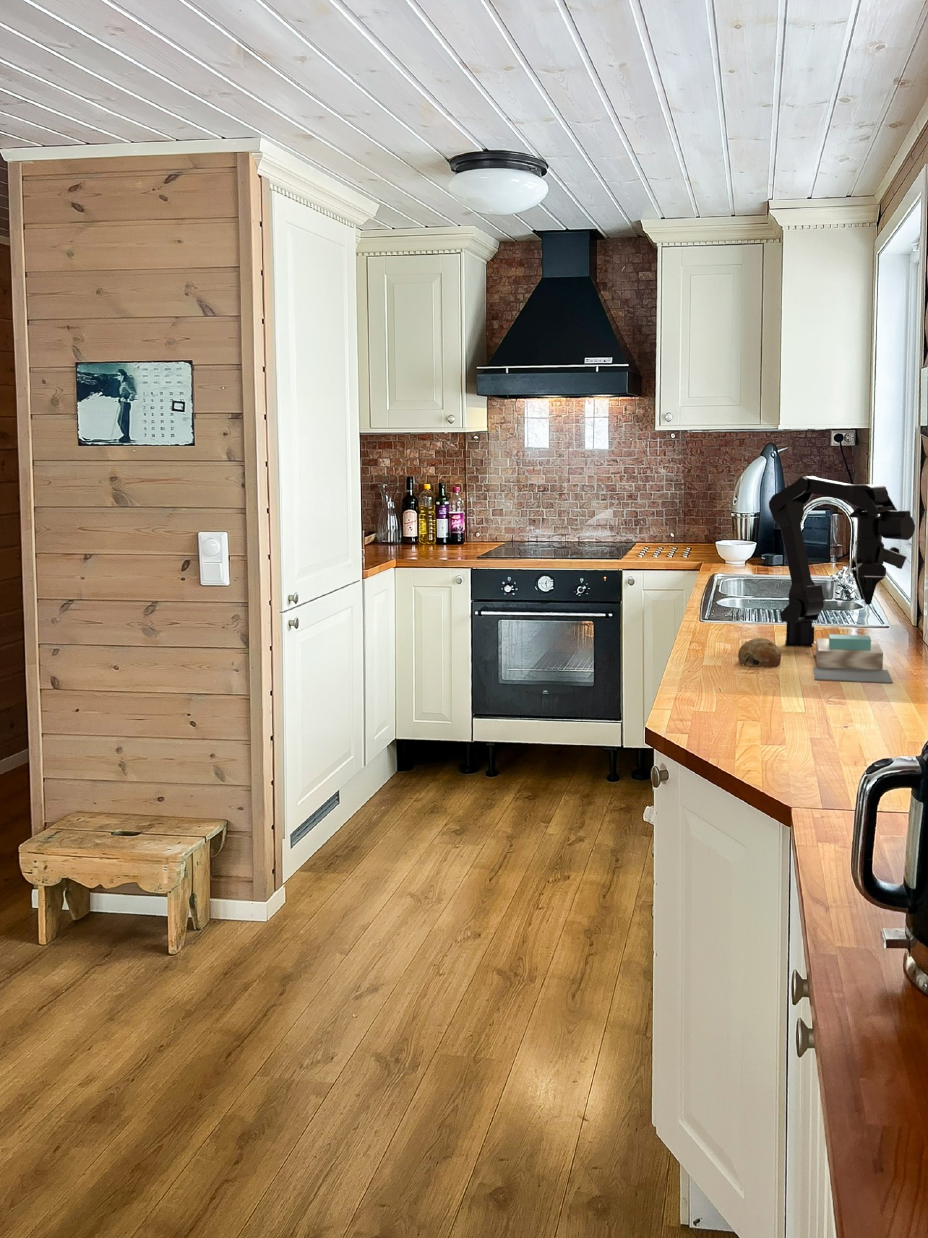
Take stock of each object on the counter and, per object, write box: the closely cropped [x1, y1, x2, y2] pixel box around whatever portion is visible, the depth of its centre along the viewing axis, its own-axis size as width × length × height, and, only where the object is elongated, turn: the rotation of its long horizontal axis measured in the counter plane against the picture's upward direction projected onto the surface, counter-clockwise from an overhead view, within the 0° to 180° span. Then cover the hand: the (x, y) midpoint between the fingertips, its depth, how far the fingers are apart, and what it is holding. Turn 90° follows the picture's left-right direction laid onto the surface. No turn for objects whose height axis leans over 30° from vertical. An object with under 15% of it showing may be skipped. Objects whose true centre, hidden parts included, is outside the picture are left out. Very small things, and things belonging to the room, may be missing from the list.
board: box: [815, 637, 884, 670], centre depth 272 cm, size 14×18×4 cm
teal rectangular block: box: [828, 633, 872, 651], centre depth 268 cm, size 9×6×2 cm, turn 75°
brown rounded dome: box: [737, 637, 782, 668], centre depth 271 cm, size 10×10×8 cm
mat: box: [812, 666, 893, 684], centre depth 256 cm, size 16×14×1 cm
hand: (865, 601), depth 278 cm, fingers open, 9 cm apart
